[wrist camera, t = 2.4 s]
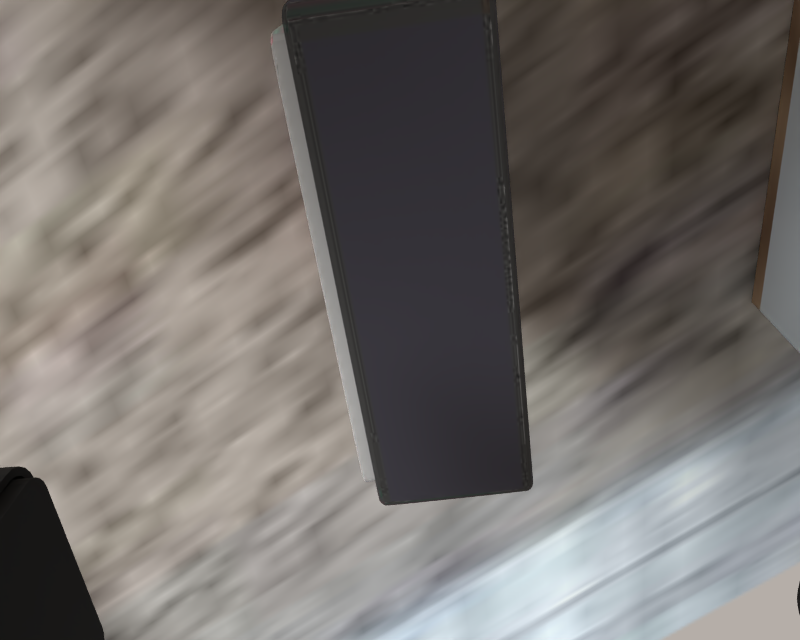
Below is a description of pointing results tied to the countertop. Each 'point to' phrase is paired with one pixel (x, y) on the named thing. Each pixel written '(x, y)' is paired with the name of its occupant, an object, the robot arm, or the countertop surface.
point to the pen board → (777, 152)
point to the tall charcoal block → (412, 235)
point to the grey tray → (786, 233)
